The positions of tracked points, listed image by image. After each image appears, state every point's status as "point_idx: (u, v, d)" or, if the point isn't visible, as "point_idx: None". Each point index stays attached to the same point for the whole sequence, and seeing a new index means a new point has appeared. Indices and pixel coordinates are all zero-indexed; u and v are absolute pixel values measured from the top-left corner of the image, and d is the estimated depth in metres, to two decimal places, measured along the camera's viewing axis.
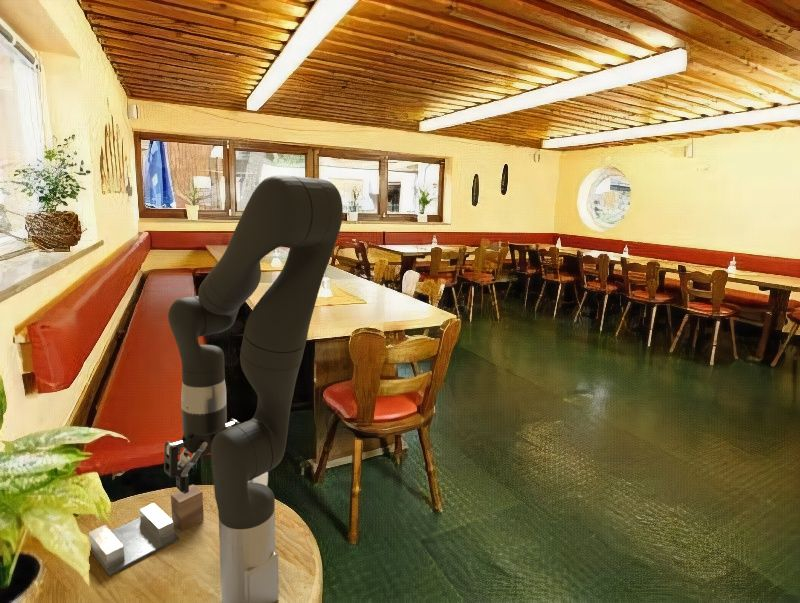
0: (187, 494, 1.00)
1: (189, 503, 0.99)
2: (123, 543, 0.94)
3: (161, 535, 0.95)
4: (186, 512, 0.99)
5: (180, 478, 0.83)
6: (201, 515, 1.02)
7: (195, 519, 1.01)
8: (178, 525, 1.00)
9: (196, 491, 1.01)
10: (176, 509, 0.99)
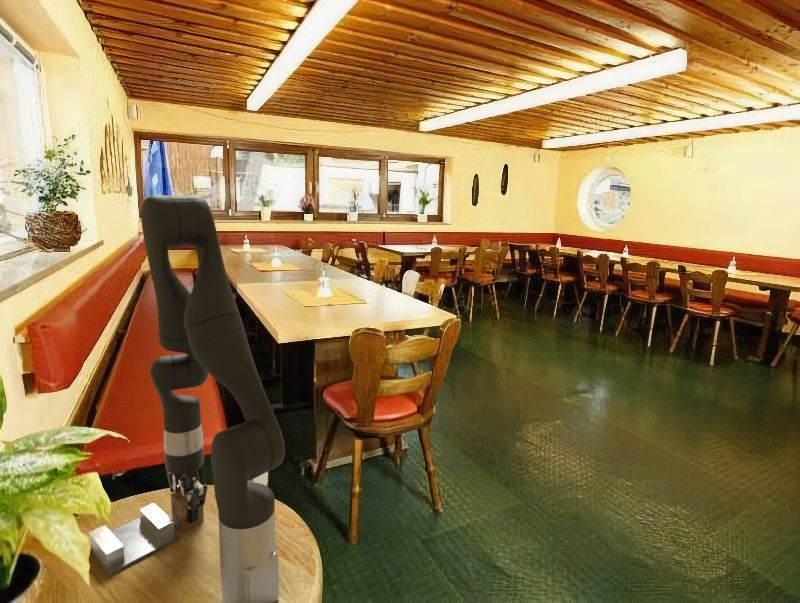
0: None
1: None
2: (123, 543, 0.94)
3: (161, 535, 0.95)
4: (186, 512, 0.99)
5: (197, 507, 1.00)
6: (201, 515, 1.02)
7: None
8: (178, 525, 1.00)
9: None
10: (176, 509, 0.99)
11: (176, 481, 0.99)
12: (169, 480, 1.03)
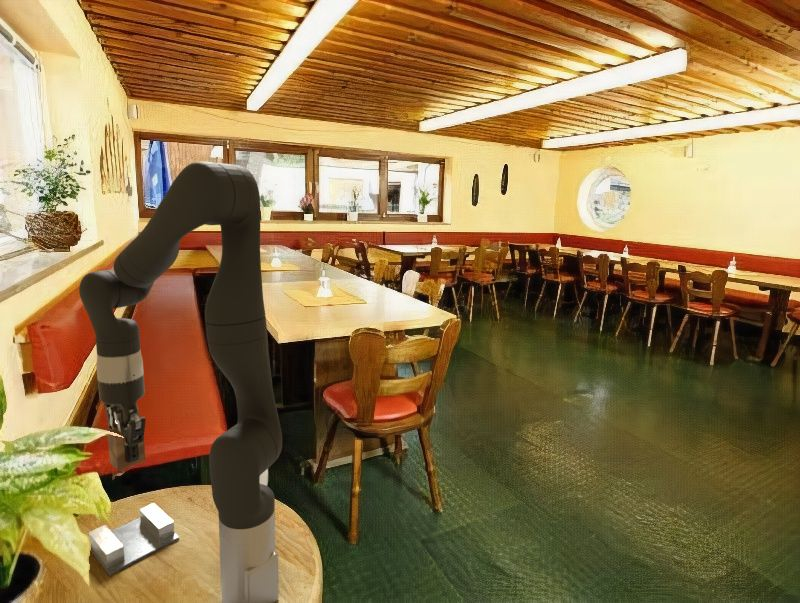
0: None
1: None
2: (123, 543, 0.94)
3: (161, 535, 0.95)
4: (123, 449, 0.89)
5: (136, 445, 0.89)
6: (142, 455, 0.92)
7: None
8: (115, 464, 0.89)
9: None
10: (113, 446, 0.89)
11: (113, 415, 0.89)
12: (107, 416, 0.92)
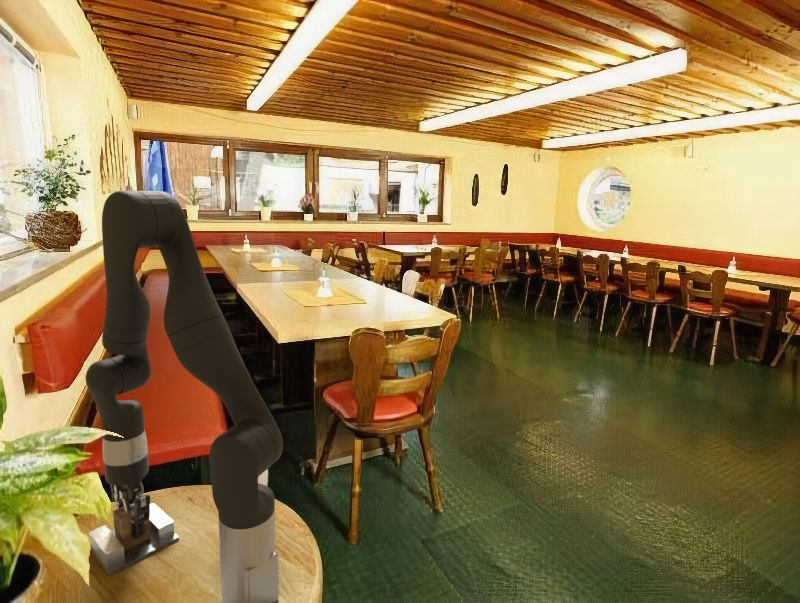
0: None
1: None
2: None
3: (161, 535, 0.95)
4: (129, 530, 0.92)
5: (143, 521, 0.92)
6: (147, 533, 0.95)
7: (140, 537, 0.94)
8: None
9: None
10: (119, 527, 0.92)
11: (118, 492, 0.92)
12: (111, 489, 0.96)
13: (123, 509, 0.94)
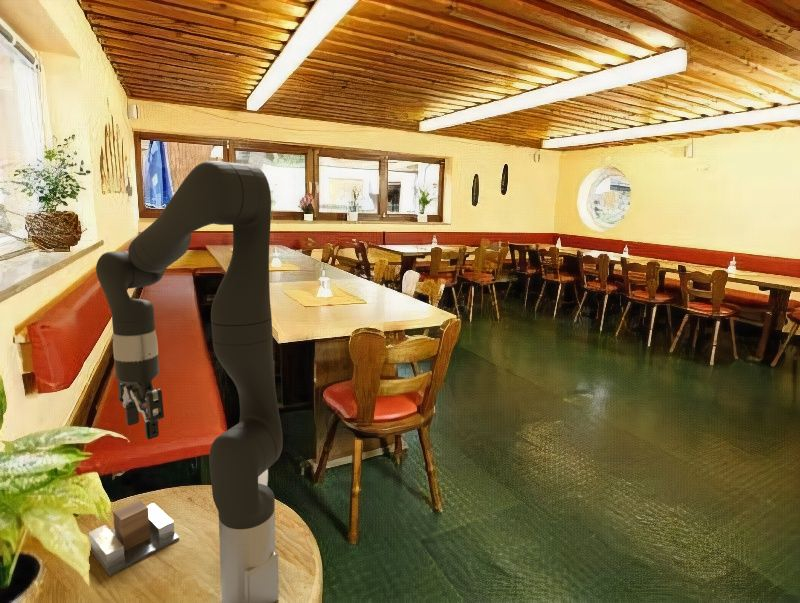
0: (131, 510, 0.93)
1: (133, 520, 0.92)
2: None
3: (161, 535, 0.95)
4: (129, 530, 0.92)
5: (156, 421, 0.90)
6: (147, 533, 0.95)
7: (140, 537, 0.94)
8: None
9: (141, 507, 0.94)
10: (119, 527, 0.92)
11: (128, 394, 0.91)
12: (119, 390, 0.95)
13: (123, 509, 0.94)
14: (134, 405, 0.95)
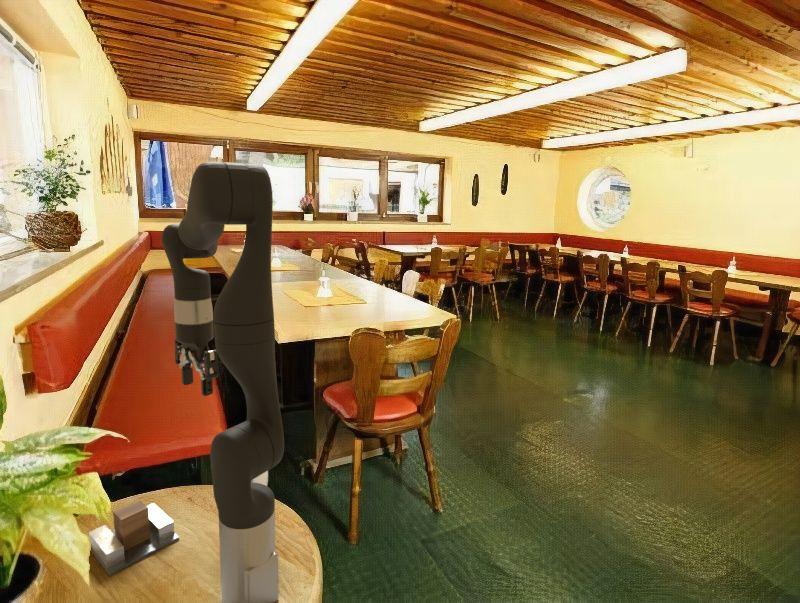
0: (131, 510, 0.93)
1: (133, 520, 0.92)
2: None
3: (161, 535, 0.95)
4: (129, 530, 0.92)
5: (211, 380, 1.00)
6: (147, 533, 0.95)
7: (140, 537, 0.94)
8: None
9: (141, 507, 0.94)
10: (119, 527, 0.92)
11: (185, 355, 1.01)
12: (176, 352, 1.04)
13: (123, 509, 0.94)
14: (189, 367, 1.05)
